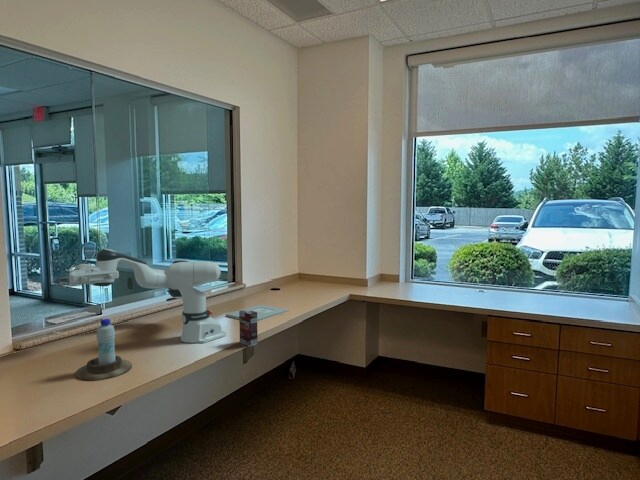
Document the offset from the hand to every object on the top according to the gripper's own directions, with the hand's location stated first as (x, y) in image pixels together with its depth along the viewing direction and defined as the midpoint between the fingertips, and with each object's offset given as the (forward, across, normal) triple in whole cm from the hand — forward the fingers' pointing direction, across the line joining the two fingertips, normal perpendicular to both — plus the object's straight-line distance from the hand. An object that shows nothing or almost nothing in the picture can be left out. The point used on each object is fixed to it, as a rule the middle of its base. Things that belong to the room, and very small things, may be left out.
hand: (99, 278), depth 187 cm
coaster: (+24, +6, -34) cm, 42 cm away
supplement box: (+36, -55, -34) cm, 74 cm away
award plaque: (-7, -91, -35) cm, 97 cm away
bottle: (+24, +5, -33) cm, 41 cm away
